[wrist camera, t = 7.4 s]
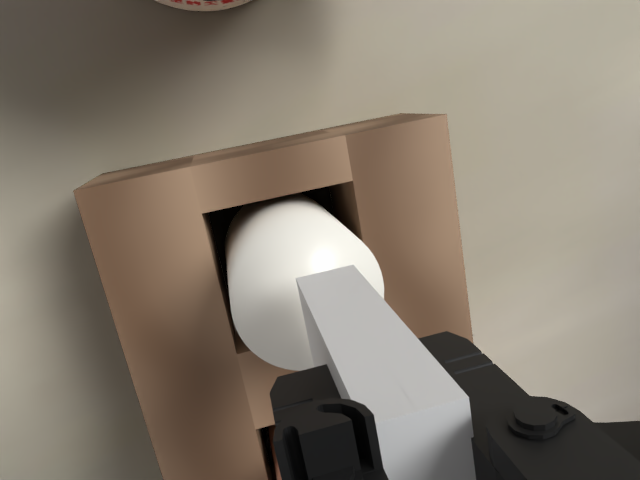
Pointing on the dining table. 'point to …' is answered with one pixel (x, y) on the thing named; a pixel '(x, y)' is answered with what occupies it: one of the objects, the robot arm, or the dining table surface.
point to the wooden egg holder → (209, 283)
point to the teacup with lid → (203, 4)
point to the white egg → (285, 272)
